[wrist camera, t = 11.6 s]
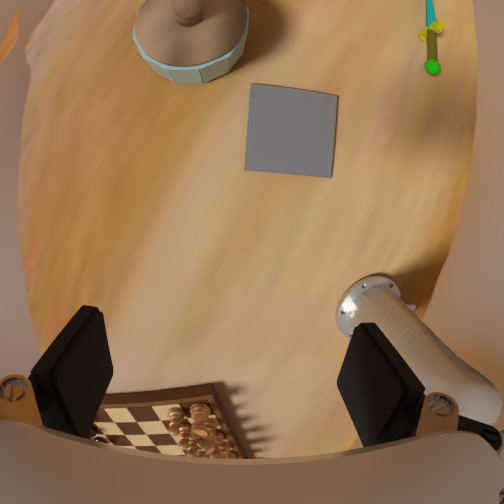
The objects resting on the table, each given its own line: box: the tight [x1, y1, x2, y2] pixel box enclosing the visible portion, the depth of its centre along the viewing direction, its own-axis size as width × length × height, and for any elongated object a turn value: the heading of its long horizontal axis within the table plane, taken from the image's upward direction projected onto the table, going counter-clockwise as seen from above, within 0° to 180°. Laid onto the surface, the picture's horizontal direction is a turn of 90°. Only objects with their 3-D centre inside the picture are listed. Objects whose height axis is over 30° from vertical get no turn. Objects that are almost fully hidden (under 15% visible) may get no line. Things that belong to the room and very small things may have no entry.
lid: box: [135, 0, 247, 67], centre depth 21 cm, size 12×12×6 cm
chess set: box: [87, 383, 247, 459], centre depth 50 cm, size 40×40×15 cm
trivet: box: [245, 84, 337, 178], centre depth 37 cm, size 12×12×1 cm
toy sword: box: [419, 0, 445, 75], centre depth 28 cm, size 3×6×30 cm
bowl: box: [132, 5, 250, 84], centre depth 28 cm, size 13×13×8 cm
